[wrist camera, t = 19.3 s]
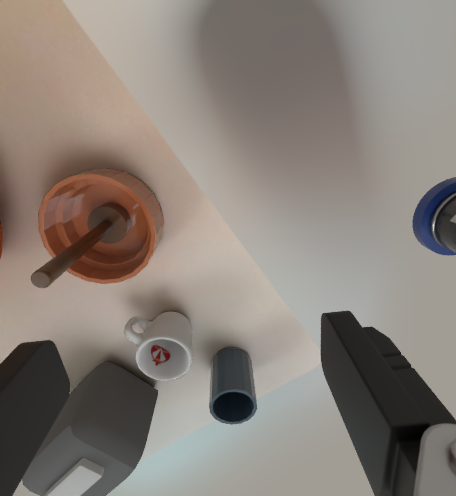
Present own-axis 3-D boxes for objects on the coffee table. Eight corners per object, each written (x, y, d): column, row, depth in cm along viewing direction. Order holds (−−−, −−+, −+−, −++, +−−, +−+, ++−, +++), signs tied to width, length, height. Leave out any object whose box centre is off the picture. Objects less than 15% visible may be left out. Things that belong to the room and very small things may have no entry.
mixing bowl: (153, 162, 40) (142, 167, 34) (171, 259, 45) (164, 277, 39) (49, 174, 40) (21, 181, 34) (79, 269, 45) (59, 288, 40)
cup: (124, 324, 49) (106, 358, 42) (146, 288, 47) (132, 318, 39) (181, 352, 51) (174, 389, 44) (205, 319, 49) (202, 352, 41)
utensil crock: (249, 345, 51) (255, 387, 43) (252, 376, 54) (258, 421, 45) (209, 349, 51) (206, 391, 43) (214, 380, 54) (212, 426, 45)
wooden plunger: (126, 200, 41) (61, 248, 24) (135, 236, 43) (79, 303, 26) (89, 204, 41) (-2, 255, 24) (99, 239, 43) (21, 309, 26)
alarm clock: (109, 430, 58) (71, 530, 43) (57, 402, 55) (-2, 499, 40) (160, 382, 54) (137, 475, 39) (108, 349, 51) (62, 436, 36)
